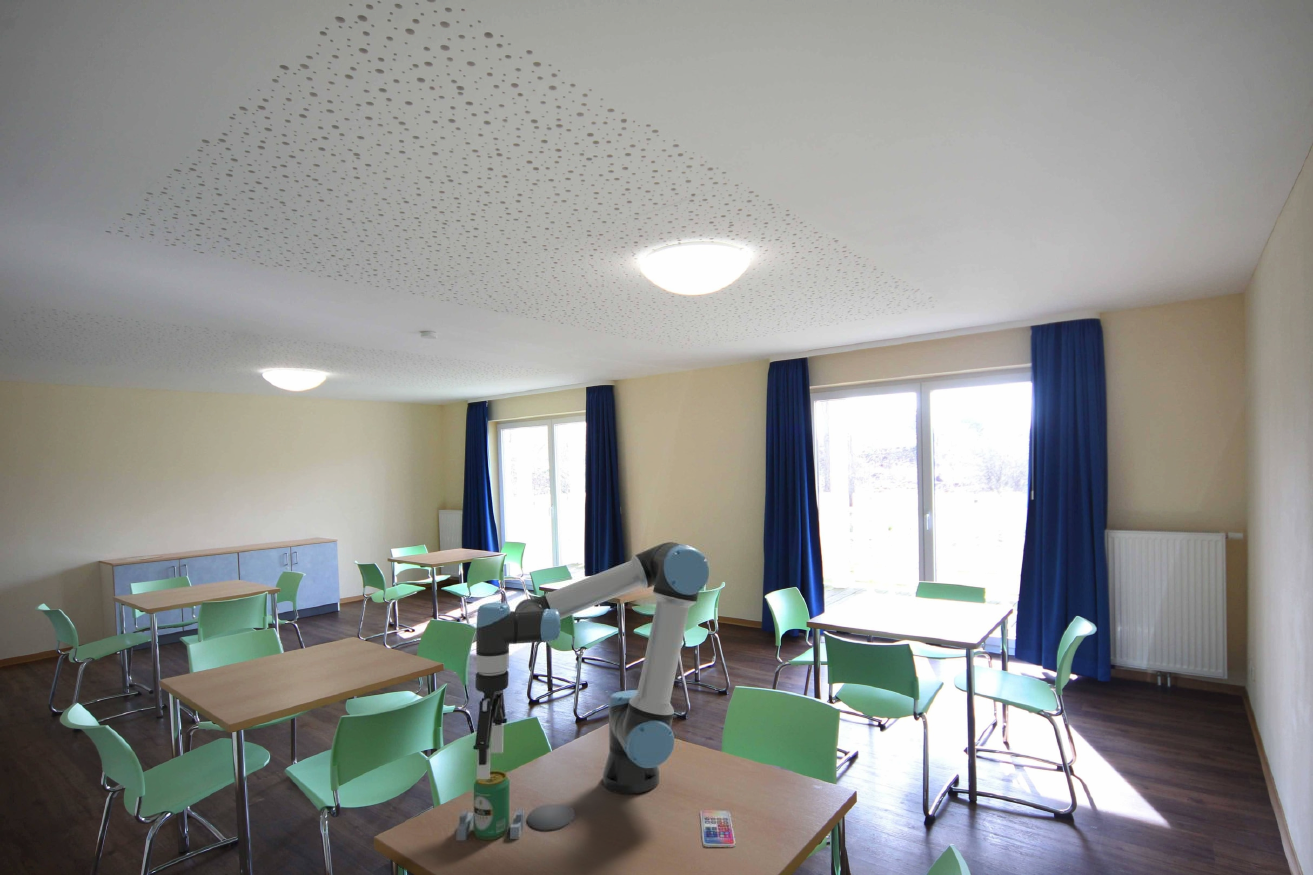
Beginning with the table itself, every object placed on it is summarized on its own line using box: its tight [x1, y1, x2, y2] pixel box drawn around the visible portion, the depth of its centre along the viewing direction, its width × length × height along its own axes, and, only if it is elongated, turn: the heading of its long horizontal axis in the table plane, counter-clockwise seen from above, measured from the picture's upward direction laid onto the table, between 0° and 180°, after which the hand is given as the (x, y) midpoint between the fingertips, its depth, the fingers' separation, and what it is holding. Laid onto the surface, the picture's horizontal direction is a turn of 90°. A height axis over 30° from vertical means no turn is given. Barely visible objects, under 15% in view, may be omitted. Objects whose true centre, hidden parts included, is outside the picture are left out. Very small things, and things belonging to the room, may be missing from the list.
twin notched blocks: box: [456, 808, 526, 841], centre depth 146 cm, size 14×7×4 cm, turn 92°
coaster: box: [527, 803, 575, 832], centre depth 151 cm, size 11×11×1 cm
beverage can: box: [472, 770, 510, 841], centre depth 146 cm, size 8×8×12 cm
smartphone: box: [699, 809, 736, 848], centre depth 145 cm, size 7×1×15 cm
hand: (490, 764), depth 147 cm, fingers open, 13 cm apart
